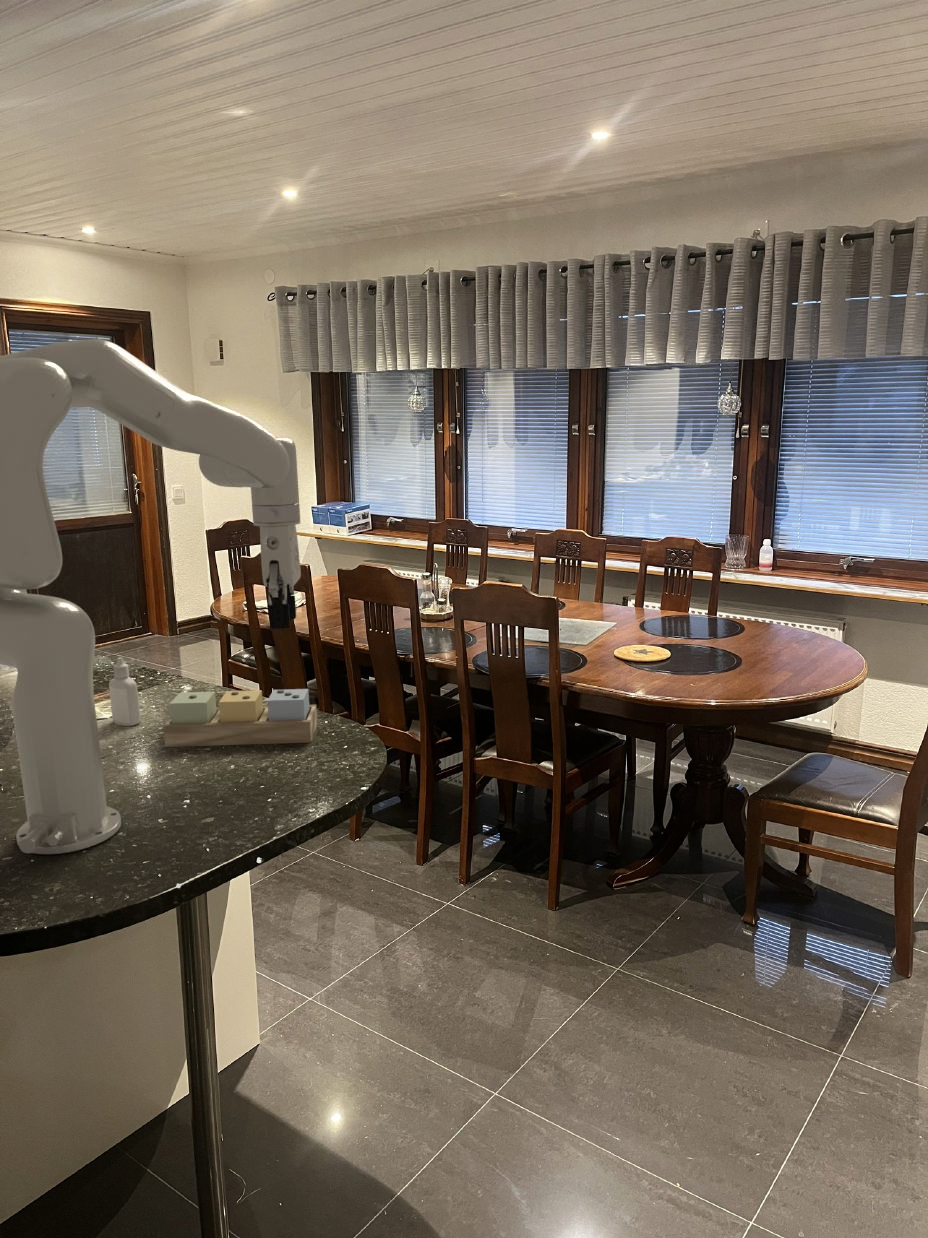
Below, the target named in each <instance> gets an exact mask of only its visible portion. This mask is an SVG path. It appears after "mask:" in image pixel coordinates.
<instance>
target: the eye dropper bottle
mask: <svg viewBox="0 0 928 1238" xmlns="http://www.w3.org/2000/svg"><path fill="white" fill-rule="evenodd" d="M113 675H114V677H113V678H112V679H110V681H109V683H108V689H109V690H108V691H109V699H110V708H111V715H112V716H111V719H112V721H113V723H114V724H116V725H119V726H122V727H133V726H135V725H139V724H141V711H140V709H141V708H140V700H139V692H138V684H137V683H136V681H135V680H134V679H133V678H132V677H130V671H129V665H128V663H125V662H124V660H123V657H118V658H117V663H116V664H115V665H113Z"/></svg>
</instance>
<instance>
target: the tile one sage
mask: <svg viewBox="0 0 928 1238" xmlns="http://www.w3.org/2000/svg"><path fill="white" fill-rule="evenodd" d="M169 708H170V718H171V719H172V724H183V723H209V722H210V721H211V719H212V718H213V717H214V715H215V714H216V712H217V709H216V708H217V699H216V691H192V692H191V691H190V692H189V691H188V692H187V691H185V692H179V693H178V694H177V695H176V696H175V697H174V698H173V700H171V702H170V703H169Z"/></svg>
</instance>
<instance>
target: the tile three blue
mask: <svg viewBox="0 0 928 1238" xmlns="http://www.w3.org/2000/svg"><path fill="white" fill-rule="evenodd" d="M309 694H310V693H309V688H295V689H294V688H293V689H287V688H286V689H273V690H272V692H271V694H270V695H269V697H268V698H267V702H266V703H267V706H268V718H269V721H282V720H305V719H306V717H307V714H308V712H309V709H310V708H309V705H310V695H309Z"/></svg>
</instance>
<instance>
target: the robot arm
mask: <svg viewBox="0 0 928 1238" xmlns="http://www.w3.org/2000/svg"><path fill="white" fill-rule="evenodd" d="M73 408H75V409H76V408H77V409H78V408H79V409H81V408H89V409H94V410H97V411H98V412H100V413H102V414H104V415H105V416H106V417H108V418H110V419H111V420H114V421H116V422H117V423H118V424H120V425H122V426H124V427H125V428H127V429H128V430H130V431H132V432H133V433H136V434H137V435H139V436H140V437H142V438H144V439H145V440H146V441H149V442H150V443H152V444H153V445H156V446H160V447H162V448H166V449H170V450H172V451H177V452H181V453H182V452H183V453H190V454H193V455H194V454H196V455H199V456H198V466H199V470H200V472H201V474H202V475H203V477H204V478H205V479H206V480H207V481H208V482H210V483H212V484H213V485H216V486H219V487H225V488H250V492H251V493H250V495H251V498H250V499H251V510H252V511H251V512H252V523H253V524H252V525H253V526H254V527H259V536H260V538H259V540H260V541H259V542H260V559H261V562H260V563H261V572H262V582H263V585H264V586H265V587H267V588H268V619H269V628H270V629H271V630H277V629H279V630H280V629H281V630H283V629H284V630H285V629H289V628H291V620H296V618H297V610H296V607H297V605H296V595H295V585H296V584H297V583H298V581H299V580H300V579H301V576H302V572H301V570H302V569H301V563H300V562H301V560H300V551H299V550H300V549H299V542H298V541H299V540H298V532H297V526H296V525H299V524H301V510H300V508H301V507H300V493H299V477H298V461H297V459H298V458H297V448H296V447H297V446H296V444H295V441H294V440H293V439H292V438H290V437H283V436H281V437H280V436H278V437H277V436H275V435H274V434H272V433H271V432H270V431H268V430H267V429H266V428H264V427H263V426H262V425H260V424H259V423H257V422H255V421H254V420H252V419H251V418H248V417H246V416H245V415H243V414H240V413H238V412H236V411H234V410H231V409H229V408H226V407H223V406H222V405H219V404H217V403H215V402H213V401H209V400H208V399H205V398H202V397H200V396H197V395H194V394H192V393H189V392H187V391H186V390H183V389H182V388H180V387H179V386H177V385H176V384H175V383H173V382H172V381H171V380H170V379H169V380H168V379H167V378H166V377H165V376H164V375H161V374H160V373H158V372H157V371H156V370H155V369H153V368H151V367H150V366H149V365H147V364H146V363H145V362H143V361H141V359H139V358H137V357H136V356H135V355H133V354H131V353H130V352H129V351H127V350H126V349H124V348H123V347H121V346H120V345H118V344H116V343H114V342H112V341H109V340H106V339H105V340H104V339H98V338H97V339H96V338H93V339H92V338H91V339H89V338H88V339H79V340H69V341H59V342H54V343H53V342H52V343H50V344H45V345H41V346H37V347H33V348H30V349H26V350H25V349H24V350H21V351H17V352H13V353H8V354H5V355H4V354H3V355H0V665H2V666H5V667H12V668H15V669H17V671H16V672H17V676H16V681H15V685H14V689H13V694H12V701H11V702H12V705H11V707H12V717H13V725H14V732H15V738H16V739H15V740H16V745H17V752H18V753H17V754H18V760H19V767H20V776H21V783H22V788H23V796H24V797H23V798H24V804H25V811H26V819H27V821H26V822H25V823H23V824H22V825H21V826H20V827H19V828H18V830H17V831H16V835H15V836H16V838H15V839H16V844H17V846H18V848H19V850H20V851H21V852H22V853H25V854H36V855H58V854H60V855H61V854H66V853H67V854H68V853H72V852H78V851H81V850H84V849H87V848H88V849H89V848H91V847H93V846H95V845H99V844H100V843H103V842H104V841H106V840H108V839H110V838H111V837H112V836H114V835H115V834H116V833H117V832H118V831H119V830H120V828H121V826H122V818H121V817H122V816H121V814H120V812H119V811H118V810H117V809H115V808H113V807H110V806H108V805H107V797H106V789H105V780H104V773H103V763H102V754H101V744H100V737H99V735H100V734H99V728H98V720H97V713H96V703H95V695H94V694H95V693H94V662H95V661H94V658H95V652H96V651H95V650H96V633H95V627H94V625H93V624H94V623H93V622H92V620H91V618H90V617H89V615H88V614H87V612H85V611H84V609H82V608H81V607H80V606H79V605H77V604H76V603H74V602H71V601H70V600H67V599H64V598H61V597H56V596H53V595H52V596H51V595H45V594H44V595H43V594H35V593H28V592H27V590H34V589H40V588H43V587H46V586H48V585H49V584H51V583H52V582H54V581H55V580H56V579H57V578H58V577H59V576H60V573H61V570H62V567H63V553H62V545H61V542H60V538H59V534H58V531H57V525H56V523H55V518H54V515H53V511H52V508H51V507H52V506H51V504H50V500H49V496H48V491H47V489H46V488H47V487H46V482H45V478H44V471H43V470H44V469H43V461H44V456H45V455H44V454H45V451H46V448H47V447H48V443H49V441H50V439H51V437H52V435H53V434H54V433H55V431H56V430H57V428H58V427H59V426H60V425H61V423H62V422H63V421H64V420H65V419H66V417H67V415H68V414H69V411H70V410H71V409H73Z"/></svg>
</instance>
